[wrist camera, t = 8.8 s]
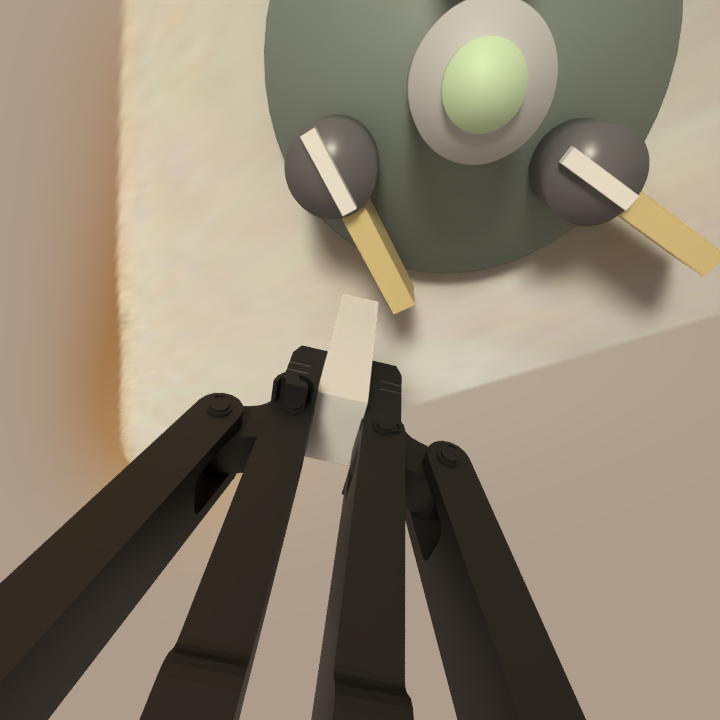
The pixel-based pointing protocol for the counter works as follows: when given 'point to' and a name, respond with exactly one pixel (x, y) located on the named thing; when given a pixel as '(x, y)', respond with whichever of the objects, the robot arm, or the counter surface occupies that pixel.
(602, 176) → the knob
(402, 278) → the knob
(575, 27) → the tribrach plate
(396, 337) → the counter surface
